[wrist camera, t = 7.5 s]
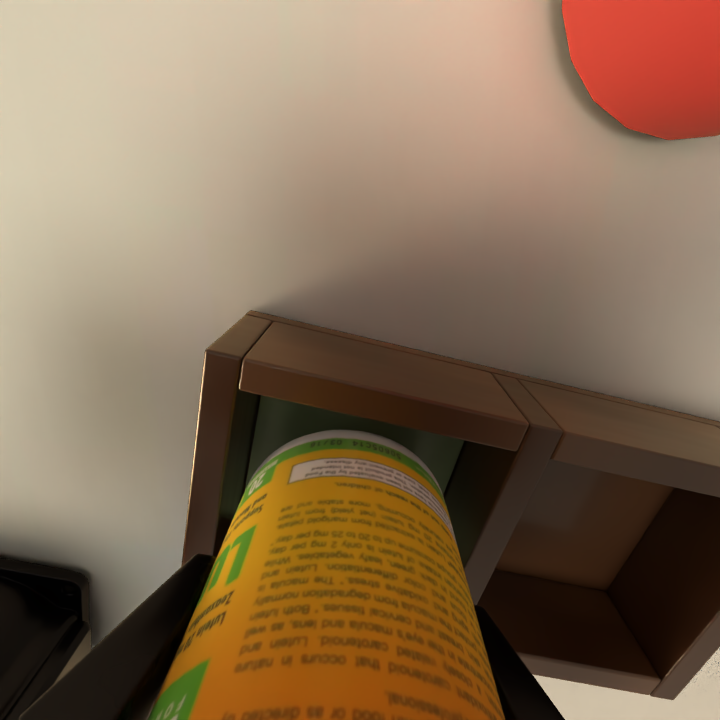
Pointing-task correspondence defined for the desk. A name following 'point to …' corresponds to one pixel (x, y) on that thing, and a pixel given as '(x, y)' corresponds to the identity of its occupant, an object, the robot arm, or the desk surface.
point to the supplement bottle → (335, 598)
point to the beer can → (650, 62)
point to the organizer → (498, 490)
